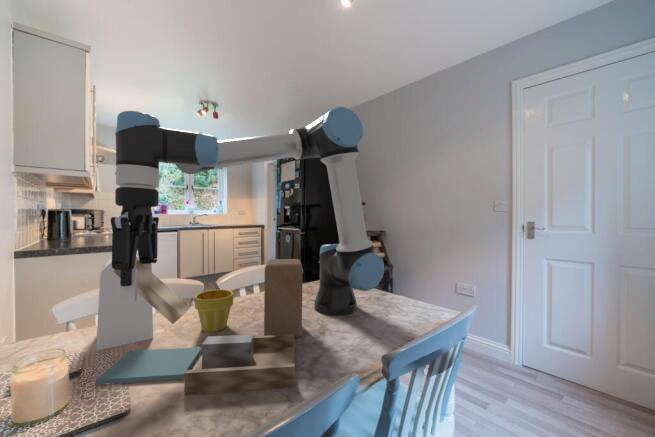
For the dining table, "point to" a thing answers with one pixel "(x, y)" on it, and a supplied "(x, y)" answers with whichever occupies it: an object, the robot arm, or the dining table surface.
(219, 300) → the plant pot
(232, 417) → the dining table surface
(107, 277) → the milk
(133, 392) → the dining table surface
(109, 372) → the slate mat
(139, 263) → the birch bar
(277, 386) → the open wooden box
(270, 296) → the block
